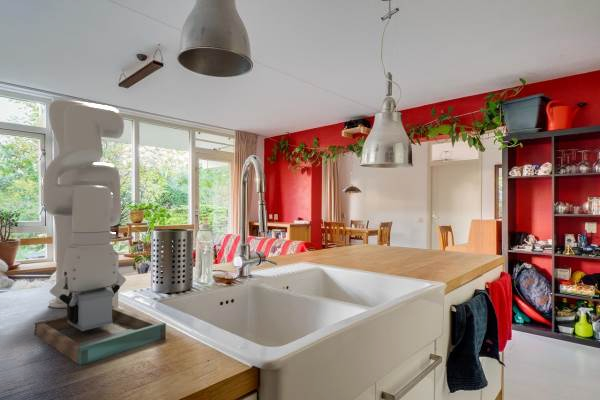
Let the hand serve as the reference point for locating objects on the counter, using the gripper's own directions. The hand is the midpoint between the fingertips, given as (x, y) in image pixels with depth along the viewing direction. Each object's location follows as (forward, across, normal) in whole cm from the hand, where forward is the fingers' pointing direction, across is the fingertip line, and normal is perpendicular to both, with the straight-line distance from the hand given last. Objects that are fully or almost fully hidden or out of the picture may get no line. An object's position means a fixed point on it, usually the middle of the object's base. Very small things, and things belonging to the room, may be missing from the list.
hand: (90, 317), depth 78 cm
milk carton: (+4, -7, -14) cm, 16 cm away
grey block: (+1, 0, 0) cm, 1 cm away
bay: (+3, 0, +5) cm, 6 cm away
